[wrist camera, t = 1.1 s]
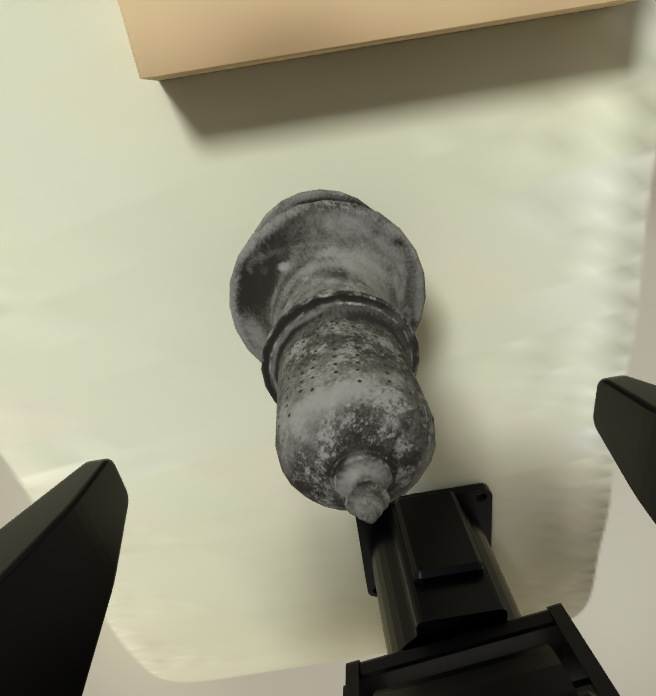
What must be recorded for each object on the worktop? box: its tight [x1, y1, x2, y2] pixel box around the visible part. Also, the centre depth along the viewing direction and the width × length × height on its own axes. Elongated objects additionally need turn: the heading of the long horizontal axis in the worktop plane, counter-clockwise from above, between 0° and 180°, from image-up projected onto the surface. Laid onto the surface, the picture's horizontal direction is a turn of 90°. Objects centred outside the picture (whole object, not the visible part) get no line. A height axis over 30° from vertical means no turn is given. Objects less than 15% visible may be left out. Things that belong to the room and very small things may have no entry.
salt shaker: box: [230, 189, 435, 524], centre depth 12 cm, size 6×6×12 cm
